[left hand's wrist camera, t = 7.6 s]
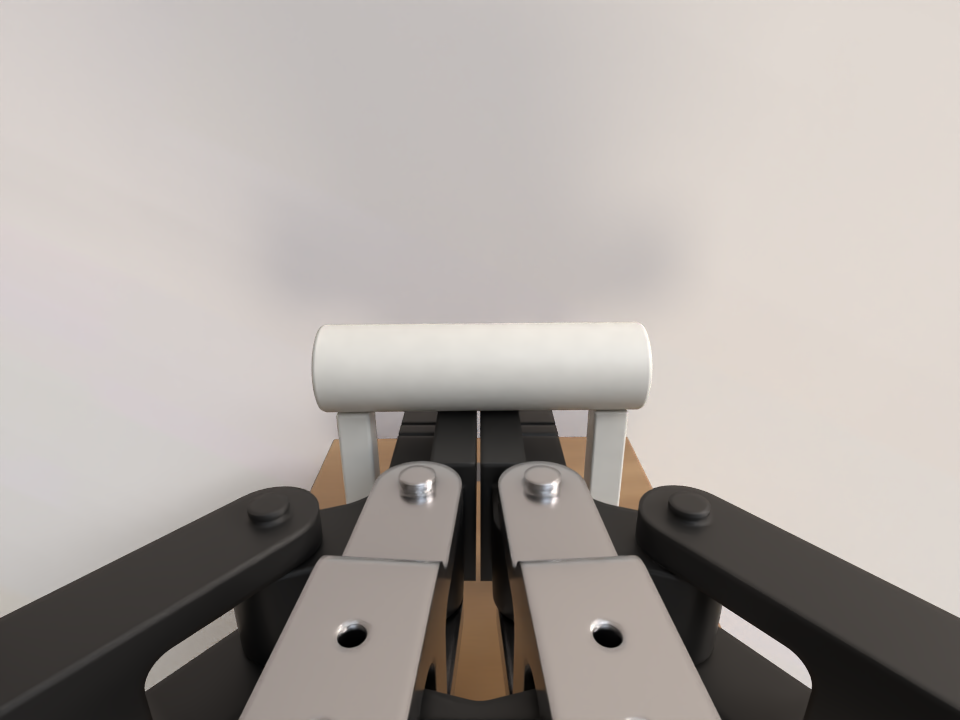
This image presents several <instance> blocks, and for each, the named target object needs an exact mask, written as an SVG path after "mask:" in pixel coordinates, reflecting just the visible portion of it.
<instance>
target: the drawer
mask: <svg viewBox="0 0 960 720" xmlns="http://www.w3.org/2000/svg"><path fill="white" fill-rule="evenodd" d="M651 381H652V354H651V346H650V341H649V338H648V334H647V332H646V329H645V327H644V326H643V325H642V324H640V323H638V322H581V323H464V324H347V325H324V326H322V327H320V328H319V330H318V332H317V334H316V337H315V341H314V346H313V352H312V384H313V390H314V395H315V398H316V402H317V404H318V406H319V408H320V409H321V410H322V411H325V412H338V414H337V416H336V419H337V427H338V436H339V439H335V440H333V442H332V445H331V447H330V449H329V451H328V453H327V456H326V458H325V460H324V462H323V464H322V467H321V469H320V471H319V473H318V475H317V477H316V480H315V482H314V484H313V486H312V488H311V491H310V492H311V493H312V494H313V495H314V496H315V497H316V498H317V500H318V502H319V509H325V508H330V507H335V506H340V505H345V504H349V503H352V502H355V501H358V500H360V499H363V498H365V497H367V496H368V495H369V494H370V491H371V489H372V487H373V484H374V482H375V481H376V479H377V478H378V477H379V475H380V474H382V473H383V472H384V471H386V470H388V469H389V467H390V463H391V460H392V456H393V452H394V449H395V445H396V442H397V439H377V432H376V420H375V412H398V411H507V410H589V412H588V426H587V437H559V440H560V443H561V447H562V451H563V455H564V458H565V462H566V466H567V467H569V468H571V469H572V470H574V471H576V472H577V473H578V474H580V476H581V477H582V478H583V479H584V481H585V482H586V485H587V487H588V489H589V491H590V494H591V496H592V498H593V499H595V500H597V501H600V502H603V503H606V504H610V505H615V506H620V507H625V508H630V509H634V510H638V507H639V501H640V498H641V497H642V496H643V494H644V493H646V492H647V491H649V490H651V489H653V488H652V486H651V484H650V482H649V480H648V478H647V476H646V474H645V472H644V470H643V468H642V466H641V464H640V462H639V460H638V458H637V456H636V454H635V452H634V450H633V448H632V446H631V444H630V442H629V440H628V438H627V437H626V430H627V420H628V412H627V410H626V409H640V408H642V407H643V406H644V405H645V404H646V402H647V399H648V396H649V392H650V388H651ZM496 607H497V606H496V605H495V602H494V600H493V590H492V581H480V438H477V516H476V581H464V590H463V609H464V622H463V630H462V638H461V646H460V653H459V661H458V669H457V677H456V685H455V692H454V696H457V697H461V698H465V699H469V700H475V701H485V700H491V699H495V698H499V697H503V696H506V693H505V685H504V677H503V669H502V661H501V653H500V646H499V638H498V630H497V622H496ZM718 626H719V627H720V628H721V626H720V624H718Z"/></svg>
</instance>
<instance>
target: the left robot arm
mask: <svg viewBox="0 0 960 720" xmlns="http://www.w3.org/2000/svg"><path fill="white" fill-rule="evenodd" d="M476 516H477V411H405V413H404V416H403V420H402V425H401V427H400V431H399V436H398V438H397V442H396V445H395V449H394V452H393V456H392V460H391V463H390V467H389V469H388V470H386V471H384V472H383V473H382V474H380V475H379V477H378V478H377V479H376V481H375V482H374V484H373V487H372V489H371V491H370V494H369V495H368V496H367V497H365V498H363V499H360V500H358V501H355V502H352V503H349V504H345V505H340V506H335V507H330V508H325V509H319V502H318V500H317V498H316V497H315V496H314V495H313V494H312V493H311V492H309V491H307V490H304V489H301V488H297V487H273V488H267V489H263V490H259V491H256V492H253V493H250V494H248V495H246V496H243V497H241V498H239V499H237V500H235V501H233V502H231V503H229V504H227V505H225V506H223V507H221V508H219V509H217V510H215V511H213V512H211V513H209V514H207V515H205V516H203V517H201V518H199V519H197V520H195V521H193V522H191V523H189V524H187V525H185V526H183V527H181V528H179V529H177V530H175V531H173V532H171V533H169V534H167V535H165V536H163V537H161V538H159V539H157V540H155V541H153V542H151V543H149V544H147V545H145V546H143V547H141V548H139V549H137V550H135V551H133V552H131V553H129V554H127V555H125V556H123V557H121V558H119V559H117V560H115V561H113V562H111V563H109V564H107V565H105V566H103V567H101V568H99V569H97V570H95V571H93V572H91V573H89V574H87V575H85V576H83V577H81V578H79V579H77V580H75V581H73V582H71V583H69V584H67V585H65V586H63V587H61V588H59V589H57V590H55V591H53V592H51V593H49V594H47V595H45V596H43V597H41V598H39V599H37V600H35V601H33V602H31V603H29V604H27V605H25V606H23V607H21V608H19V609H17V610H15V611H13V612H11V613H9V614H7V615H5V616H3V617H1V618H0V720H960V618H959V617H957V616H955V615H953V614H951V613H949V612H947V611H945V610H943V609H941V608H939V607H937V606H935V605H933V604H931V603H929V602H927V601H925V600H923V599H921V598H919V597H917V596H915V595H913V594H911V593H909V592H907V591H905V590H903V589H901V588H899V587H897V586H895V585H893V584H891V583H889V582H887V581H885V580H883V579H881V578H879V577H877V576H875V575H873V574H871V573H869V572H867V571H865V570H863V569H861V568H859V567H857V566H855V565H853V564H851V563H849V562H847V561H845V560H843V559H841V558H839V557H837V556H835V555H833V554H831V553H829V552H827V551H825V550H823V549H821V548H819V547H817V546H815V545H813V544H811V543H809V542H807V541H805V540H803V539H801V538H799V537H797V536H795V535H793V534H791V533H789V532H787V531H785V530H783V529H781V528H779V527H777V526H775V525H773V524H771V523H769V522H767V521H765V520H763V519H761V518H759V517H757V516H755V515H753V514H751V513H749V512H747V511H745V510H743V509H741V508H739V507H737V506H735V505H733V504H731V503H729V502H727V501H725V500H723V499H721V498H719V497H717V496H715V495H712V494H710V493H708V492H705V491H702V490H699V489H696V488H692V487H686V486H676V485H671V486H661V487H657V488H653V489H651V490H649V491H647V492H646V493H644V494H643V496H642V497H641V498H640V501H639V507H638V510H634V509H630V508H625V507H620V506H615V505H610V504H606V503H603V502H600V501H597V500H595V499H593V498H592V496H591V494H590V491H589V489H588V487H587V485H586V482H585V481H584V479H583V478H582V477H581V476H580V474H578V473H577V472H576V471H574V470H572V469H571V468H569V467H567V466H566V462H565V458H564V455H563V451H562V447H561V443H560V440H559V436H558V432H557V428H556V425H555V421H554V417H553V413H552V410H507V411H480V581H492V590H493V600H494V602H495V605H496V606H497V607H496V622H497V630H498V638H499V646H500V653H501V661H502V669H503V677H504V685H505V693H506V696H503V697H499V698H495V699H491V700H485V701H475V700H469V699H465V698H461V697H457V696H454V692H455V685H456V677H457V669H458V661H459V653H460V646H461V638H462V630H463V622H464V609H463V590H464V581H476ZM722 605H723V606H724V607H726V608H727V609H729V610H730V611H732V612H733V613H735V614H737V615H738V616H740V617H741V618H743V619H744V620H746V621H747V622H749V623H750V624H752V625H754V626H755V627H757V628H758V629H760V630H761V631H763V632H764V633H766V634H767V635H769V636H771V637H772V638H774V639H775V640H777V641H778V642H780V643H781V644H783V645H784V646H786V647H787V648H789V649H790V650H791V651H792V652H794V653H795V654H796V655H797V656H798V657H799V658H800V660H801V661H802V662H803V664H804V665H805V666H806V668H807V670H808V672H809V674H810V677H811V681H812V689H810V688H808V687H807V686H805V685H804V684H802V683H801V682H800V681H798V680H797V679H795V678H794V677H792V676H791V675H789V674H788V673H786V672H785V671H783V670H782V669H780V668H779V667H777V666H776V665H775V664H773V663H772V662H770V661H769V660H767V659H766V658H764V657H763V656H761V655H760V654H758V653H757V652H755V651H754V650H753V649H751V648H750V647H748V646H747V645H745V644H744V643H742V642H741V641H739V640H738V639H736V638H735V637H733V636H732V635H730V634H729V633H728V632H726V631H725V630H723V629H722V628H720V627H719V626H718V624H719V619H720V614H721V609H722ZM233 608H234V611H235V616H236V621H237V626H238V629H237V630H235V631H234V632H232V633H231V634H229V635H228V636H227V637H225V638H224V639H222V640H221V641H219V642H218V643H216V644H215V645H213V646H212V647H210V648H209V649H207V650H206V651H205V652H203V653H202V654H200V655H199V656H197V657H196V658H194V659H193V660H191V661H190V662H188V663H187V664H185V665H184V666H182V667H181V668H180V669H178V670H177V671H175V672H174V673H172V674H171V675H169V676H168V677H166V678H165V679H163V680H162V681H160V682H159V683H158V684H156V685H155V686H153V687H152V688H150V689H149V690H147V691H145V690H144V687H145V681H146V678H147V675H148V673H149V671H150V670H151V668H152V666H153V665H154V664H155V662H156V661H157V660H158V659H159V658H160V657H161V656H162V655H163V654H164V653H165V652H167V651H168V650H170V649H171V648H172V647H174V646H176V645H177V644H179V643H180V642H182V641H183V640H185V639H186V638H188V637H189V636H191V635H193V634H194V633H196V632H197V631H199V630H200V629H202V628H203V627H205V626H206V625H208V624H210V623H211V622H213V621H214V620H216V619H217V618H219V617H220V616H222V615H223V614H225V613H227V612H228V611H230V610H231V609H233Z"/></svg>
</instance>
